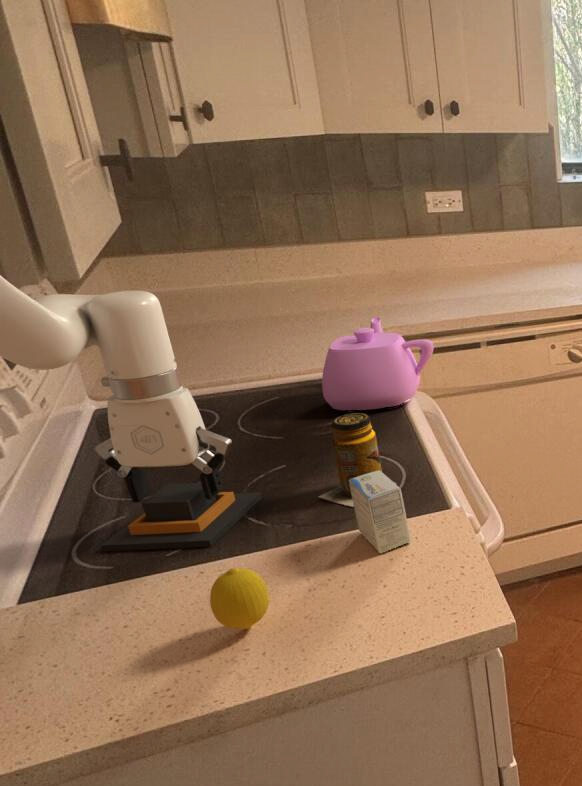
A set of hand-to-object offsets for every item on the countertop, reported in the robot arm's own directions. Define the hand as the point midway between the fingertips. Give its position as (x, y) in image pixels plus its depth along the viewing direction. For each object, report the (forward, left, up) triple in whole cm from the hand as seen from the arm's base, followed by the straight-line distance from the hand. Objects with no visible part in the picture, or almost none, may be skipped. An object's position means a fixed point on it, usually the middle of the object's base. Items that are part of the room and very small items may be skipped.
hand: (178, 496), depth 111 cm
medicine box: (+30, -7, -4) cm, 31 cm away
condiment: (+21, +8, -5) cm, 23 cm away
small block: (0, 0, -3) cm, 3 cm away
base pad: (0, 0, -4) cm, 4 cm away
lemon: (+21, -26, -5) cm, 34 cm away
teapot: (+10, +49, -4) cm, 50 cm away
